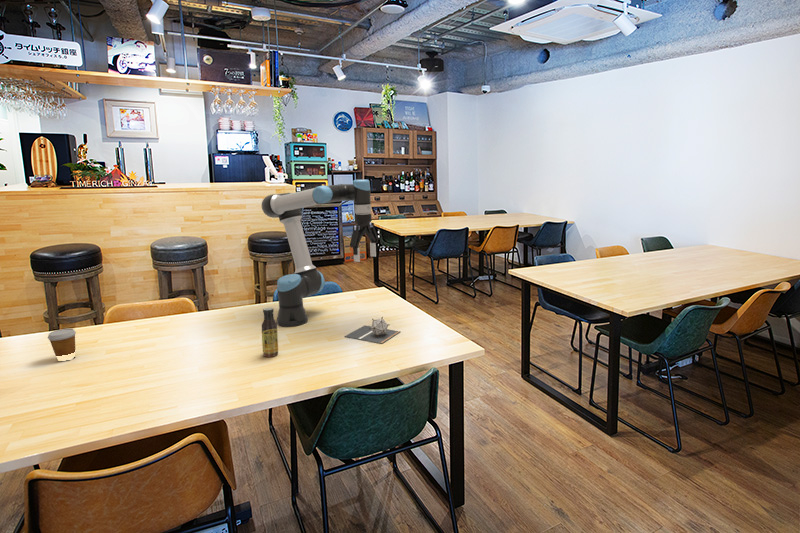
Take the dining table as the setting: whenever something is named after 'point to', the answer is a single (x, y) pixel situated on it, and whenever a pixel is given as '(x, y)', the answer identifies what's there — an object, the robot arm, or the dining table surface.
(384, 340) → the lane mat
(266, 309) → the sauce bottle
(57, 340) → the disposable coffee cup
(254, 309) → the dining table surface
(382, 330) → the game die
